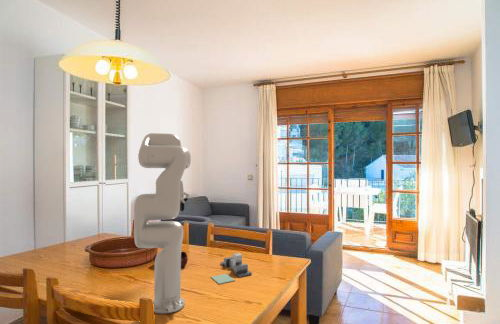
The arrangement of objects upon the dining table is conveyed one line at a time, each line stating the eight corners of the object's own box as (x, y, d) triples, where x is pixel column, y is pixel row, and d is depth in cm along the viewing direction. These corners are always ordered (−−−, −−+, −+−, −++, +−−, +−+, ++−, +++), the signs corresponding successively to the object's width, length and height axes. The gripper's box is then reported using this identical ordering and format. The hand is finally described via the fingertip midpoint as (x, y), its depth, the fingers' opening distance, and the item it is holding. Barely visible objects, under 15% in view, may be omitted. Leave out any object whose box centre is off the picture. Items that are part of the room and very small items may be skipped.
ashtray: (197, 263, 163) (197, 254, 163) (175, 272, 149) (175, 262, 149) (173, 257, 172) (173, 249, 172) (150, 266, 158) (150, 256, 158)
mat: (234, 280, 138) (234, 280, 138) (218, 284, 134) (218, 283, 134) (226, 274, 146) (226, 273, 146) (211, 277, 142) (211, 276, 142)
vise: (251, 274, 146) (251, 266, 146) (238, 277, 142) (238, 268, 142) (232, 262, 164) (232, 254, 164) (220, 264, 161) (220, 256, 161)
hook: (241, 271, 151) (241, 254, 151) (235, 272, 149) (235, 256, 149) (235, 266, 157) (235, 251, 157) (229, 267, 156) (229, 252, 156)
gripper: (157, 178, 147) (157, 214, 147) (191, 178, 156) (191, 211, 156) (153, 178, 154) (153, 211, 154) (186, 177, 163) (186, 209, 163)
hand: (172, 211), depth 155 cm, fingers open, 9 cm apart
